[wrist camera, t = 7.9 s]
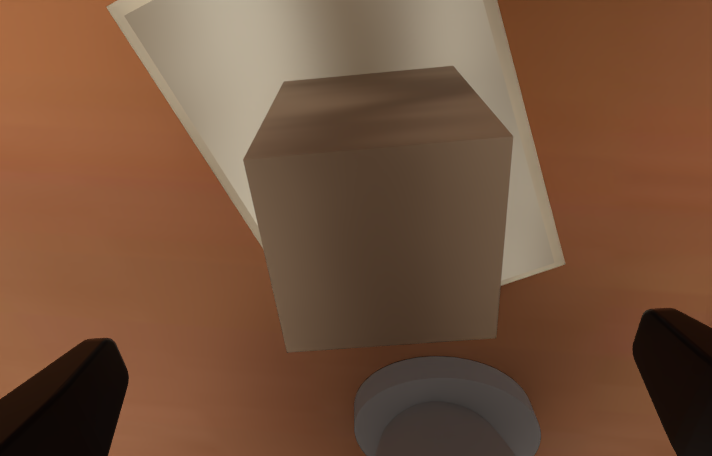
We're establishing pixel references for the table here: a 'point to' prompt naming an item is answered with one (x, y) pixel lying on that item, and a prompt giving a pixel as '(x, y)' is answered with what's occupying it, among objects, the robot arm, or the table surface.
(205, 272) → the table surface
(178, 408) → the table surface
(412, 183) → the grey-brown block
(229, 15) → the cream flat block
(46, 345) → the table surface
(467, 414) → the vase
